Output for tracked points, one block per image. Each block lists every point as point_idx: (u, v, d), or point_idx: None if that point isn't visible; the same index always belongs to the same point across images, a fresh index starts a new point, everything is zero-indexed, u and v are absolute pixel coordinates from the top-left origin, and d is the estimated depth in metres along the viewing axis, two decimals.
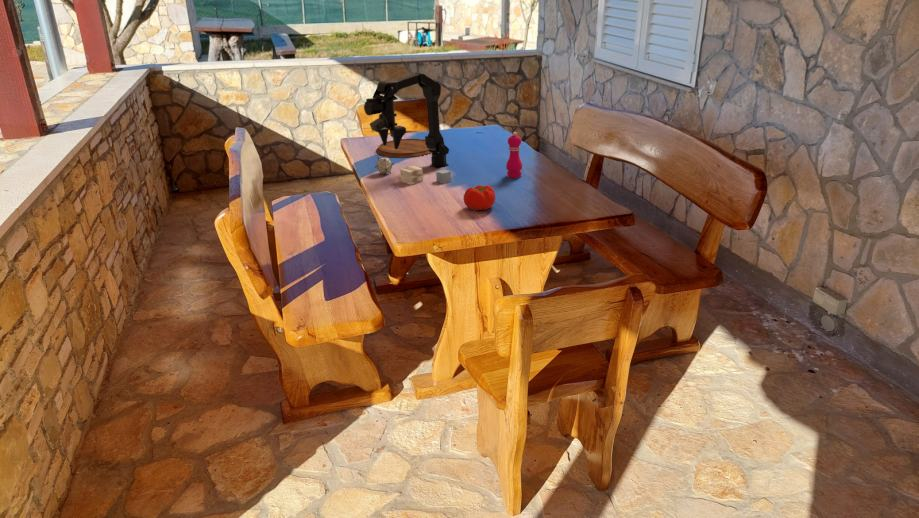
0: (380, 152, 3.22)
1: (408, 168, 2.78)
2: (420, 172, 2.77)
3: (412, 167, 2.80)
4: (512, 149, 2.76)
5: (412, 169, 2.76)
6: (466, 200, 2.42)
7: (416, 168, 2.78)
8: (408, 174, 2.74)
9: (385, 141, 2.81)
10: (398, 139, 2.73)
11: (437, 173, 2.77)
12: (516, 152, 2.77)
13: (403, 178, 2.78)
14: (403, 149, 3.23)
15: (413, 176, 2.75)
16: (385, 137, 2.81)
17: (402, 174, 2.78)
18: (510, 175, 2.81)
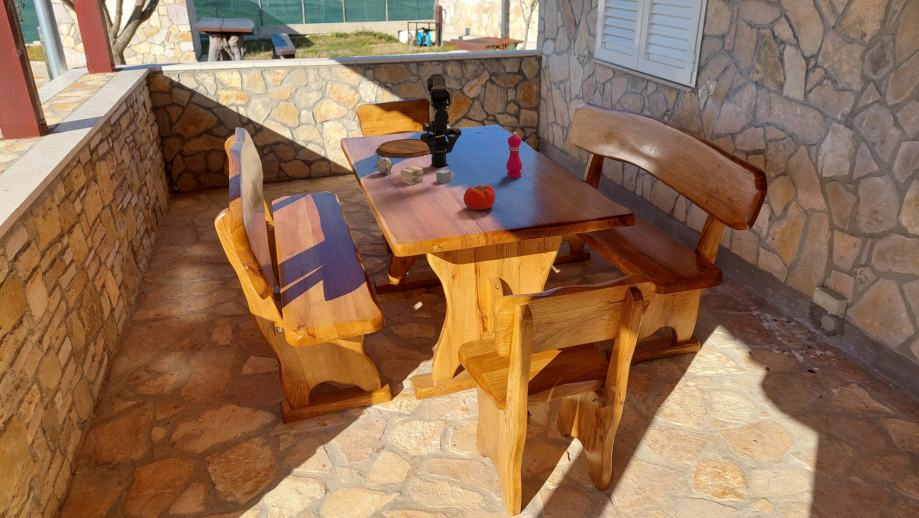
0: (380, 152, 3.22)
1: (408, 168, 2.78)
2: (420, 172, 2.77)
3: (412, 167, 2.80)
4: (512, 149, 2.76)
5: (412, 170, 2.76)
6: (466, 200, 2.42)
7: (416, 168, 2.78)
8: (409, 174, 2.75)
9: (450, 148, 2.76)
10: (431, 147, 2.68)
11: (437, 173, 2.77)
12: (516, 152, 2.77)
13: (403, 179, 2.78)
14: (403, 149, 3.23)
15: (414, 176, 2.75)
16: (450, 145, 2.75)
17: (402, 174, 2.78)
18: (510, 175, 2.81)
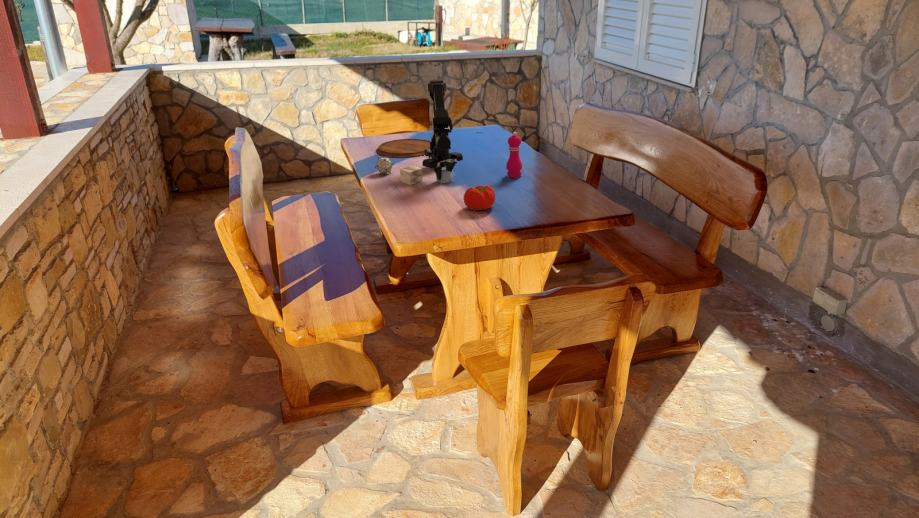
0: (380, 152, 3.22)
1: (408, 168, 2.78)
2: (420, 172, 2.78)
3: (412, 167, 2.80)
4: (512, 149, 2.76)
5: (412, 170, 2.76)
6: (466, 200, 2.42)
7: (416, 168, 2.78)
8: (408, 174, 2.75)
9: None
10: (437, 171, 2.74)
11: None
12: (516, 152, 2.77)
13: (402, 179, 2.79)
14: (403, 149, 3.23)
15: (413, 176, 2.75)
16: (448, 170, 2.78)
17: (402, 174, 2.78)
18: (510, 175, 2.81)
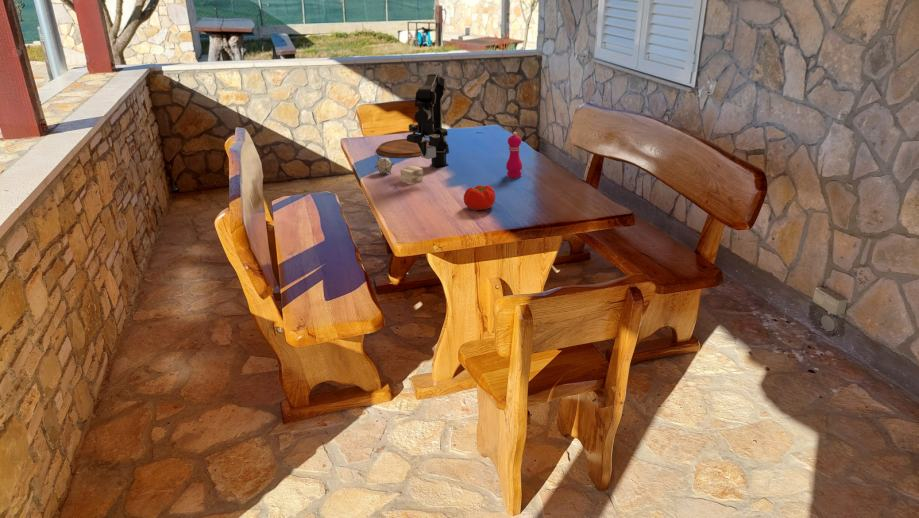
0: (380, 152, 3.22)
1: (408, 168, 2.78)
2: (420, 172, 2.78)
3: (412, 167, 2.80)
4: (512, 149, 2.76)
5: (412, 170, 2.76)
6: (466, 200, 2.42)
7: (416, 168, 2.78)
8: (409, 174, 2.75)
9: None
10: (422, 146, 2.70)
11: None
12: (516, 152, 2.77)
13: (402, 178, 2.79)
14: (403, 149, 3.23)
15: (414, 176, 2.76)
16: None
17: (402, 174, 2.78)
18: (510, 175, 2.81)
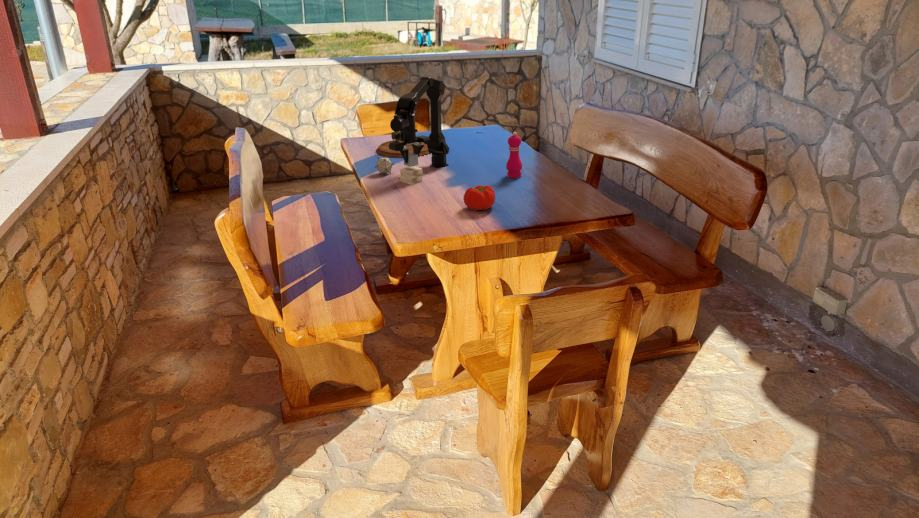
0: (380, 152, 3.22)
1: (408, 168, 2.78)
2: (420, 172, 2.78)
3: (412, 167, 2.80)
4: (512, 149, 2.76)
5: (412, 170, 2.76)
6: (466, 200, 2.42)
7: (416, 168, 2.78)
8: (409, 174, 2.75)
9: None
10: (404, 154, 2.72)
11: None
12: (516, 152, 2.77)
13: (402, 178, 2.79)
14: None
15: (413, 176, 2.75)
16: None
17: (402, 174, 2.78)
18: (510, 175, 2.81)
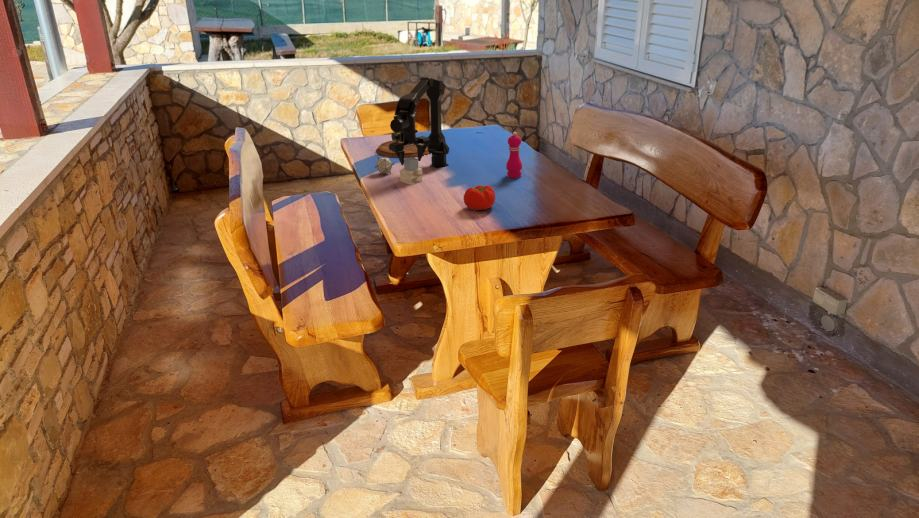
0: (380, 152, 3.22)
1: None
2: (420, 172, 2.78)
3: None
4: (512, 149, 2.76)
5: None
6: (466, 200, 2.42)
7: None
8: (409, 174, 2.74)
9: (419, 157, 2.78)
10: (400, 156, 2.71)
11: (404, 160, 2.76)
12: (516, 152, 2.77)
13: (402, 179, 2.79)
14: (403, 149, 3.23)
15: (414, 176, 2.75)
16: (419, 153, 2.78)
17: (402, 175, 2.78)
18: (510, 175, 2.81)
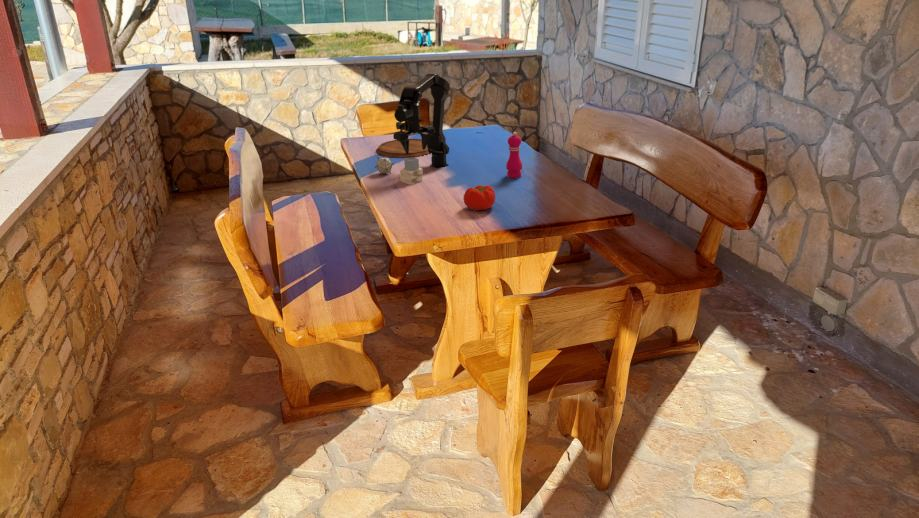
0: (380, 152, 3.22)
1: None
2: (420, 172, 2.78)
3: None
4: (512, 149, 2.76)
5: None
6: (466, 200, 2.42)
7: None
8: (409, 174, 2.75)
9: (423, 146, 2.81)
10: (405, 145, 2.73)
11: (405, 160, 2.76)
12: (516, 152, 2.77)
13: (402, 179, 2.79)
14: (403, 149, 3.23)
15: (414, 176, 2.76)
16: (424, 142, 2.80)
17: (402, 175, 2.78)
18: (510, 175, 2.81)
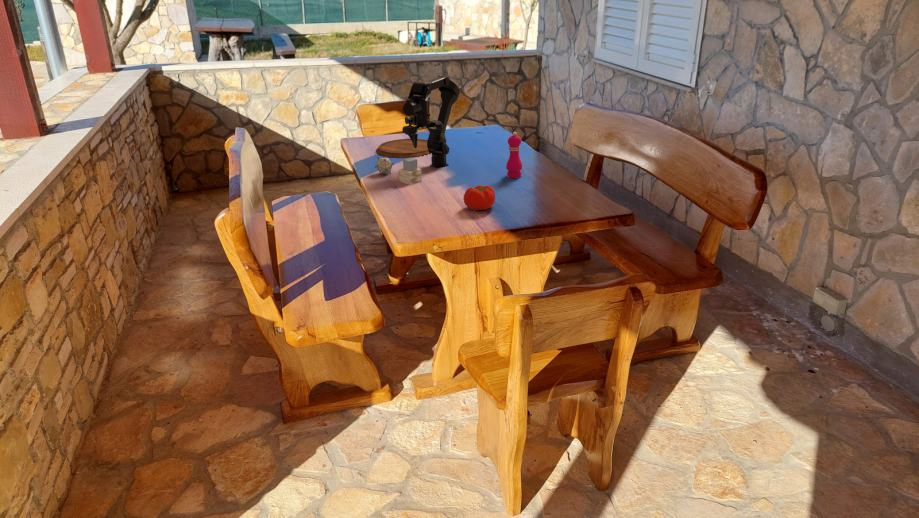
0: (380, 152, 3.22)
1: None
2: (419, 172, 2.78)
3: None
4: (512, 149, 2.76)
5: None
6: (466, 200, 2.42)
7: None
8: (408, 175, 2.75)
9: (431, 140, 2.88)
10: (413, 139, 2.80)
11: (404, 160, 2.76)
12: (516, 152, 2.77)
13: (401, 179, 2.79)
14: (403, 149, 3.23)
15: (412, 176, 2.76)
16: (432, 137, 2.87)
17: (401, 175, 2.78)
18: (510, 175, 2.81)
